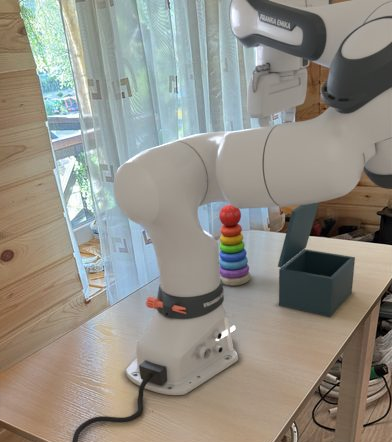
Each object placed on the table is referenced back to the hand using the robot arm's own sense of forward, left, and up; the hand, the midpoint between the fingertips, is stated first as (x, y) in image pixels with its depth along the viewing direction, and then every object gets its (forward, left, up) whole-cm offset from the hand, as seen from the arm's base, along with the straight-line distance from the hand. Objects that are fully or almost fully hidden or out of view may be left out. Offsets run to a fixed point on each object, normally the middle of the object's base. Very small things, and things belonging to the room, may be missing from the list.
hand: (277, 134), depth 111 cm
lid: (-8, -10, -18) cm, 22 cm away
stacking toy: (-7, +8, -33) cm, 35 cm away
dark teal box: (-8, -14, -33) cm, 37 cm away
